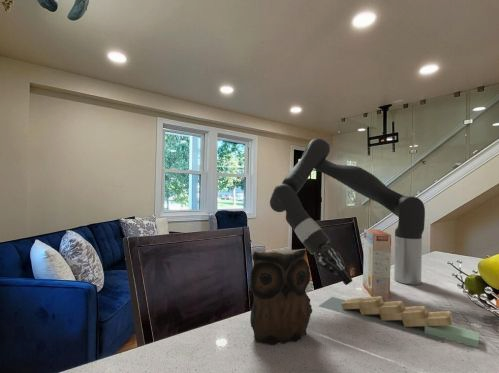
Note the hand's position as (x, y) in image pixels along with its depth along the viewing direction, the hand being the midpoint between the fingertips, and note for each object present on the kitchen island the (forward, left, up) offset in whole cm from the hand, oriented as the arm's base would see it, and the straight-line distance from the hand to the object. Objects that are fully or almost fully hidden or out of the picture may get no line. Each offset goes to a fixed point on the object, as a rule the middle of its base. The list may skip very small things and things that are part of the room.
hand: (349, 282), depth 81 cm
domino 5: (0, +19, -6) cm, 20 cm away
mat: (0, +8, -7) cm, 11 cm away
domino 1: (0, -1, -6) cm, 6 cm away
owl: (+25, -8, -8) cm, 27 cm away
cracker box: (-21, +2, -8) cm, 22 cm away
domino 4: (0, +14, -6) cm, 16 cm away
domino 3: (0, +9, -6) cm, 11 cm away
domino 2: (0, +4, -6) cm, 7 cm away
